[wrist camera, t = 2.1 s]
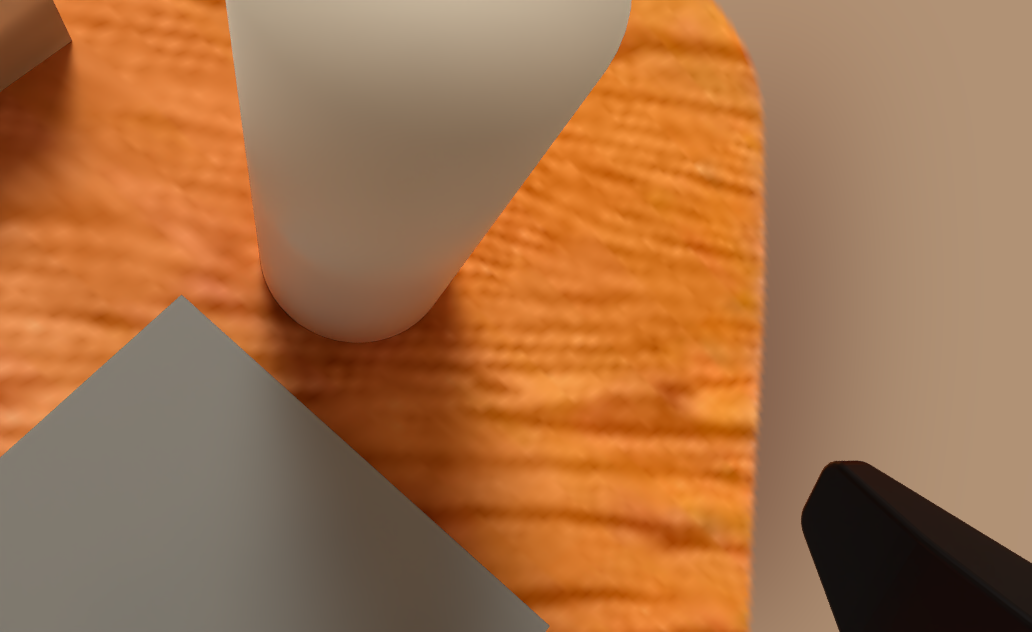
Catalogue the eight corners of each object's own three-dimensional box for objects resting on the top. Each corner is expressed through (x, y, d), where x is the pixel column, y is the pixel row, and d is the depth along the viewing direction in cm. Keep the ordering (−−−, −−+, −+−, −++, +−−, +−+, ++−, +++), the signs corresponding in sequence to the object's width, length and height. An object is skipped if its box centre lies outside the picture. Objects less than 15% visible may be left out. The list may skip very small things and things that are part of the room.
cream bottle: (484, 252, 22) (702, -26, 10) (362, 382, 20) (457, 224, 9) (352, 129, 22) (423, -298, 10) (217, 250, 20) (113, -96, 8)
